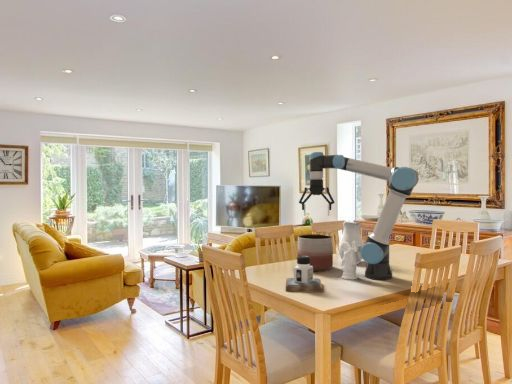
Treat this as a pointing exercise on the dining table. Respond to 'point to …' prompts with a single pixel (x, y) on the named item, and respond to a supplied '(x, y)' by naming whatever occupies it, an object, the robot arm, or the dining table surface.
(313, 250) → the planter
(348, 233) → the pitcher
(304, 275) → the container
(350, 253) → the cherub figurine
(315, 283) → the wooden framed tray
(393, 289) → the dining table surface
